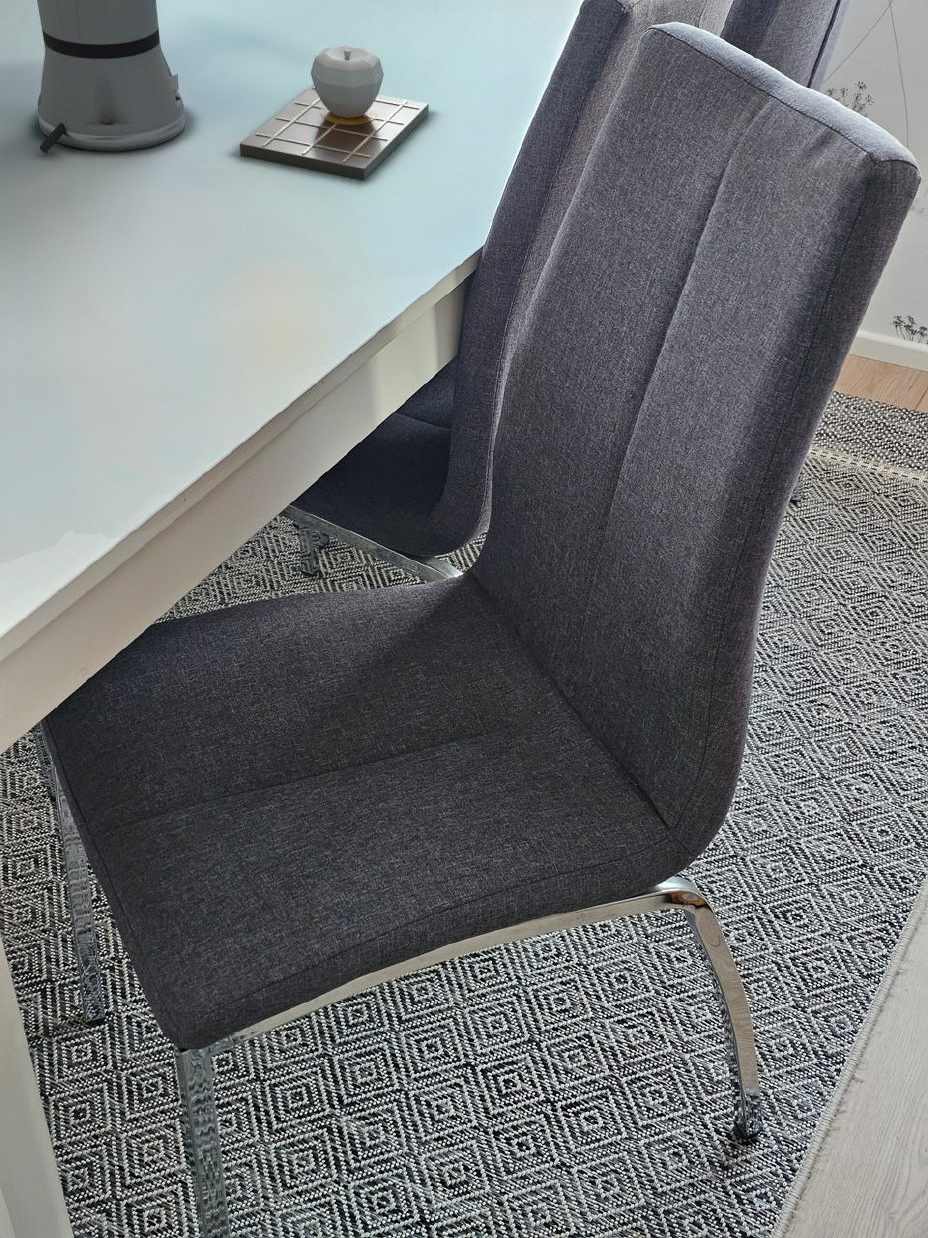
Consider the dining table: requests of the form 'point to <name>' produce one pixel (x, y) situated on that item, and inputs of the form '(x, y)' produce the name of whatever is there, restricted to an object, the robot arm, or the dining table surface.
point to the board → (334, 135)
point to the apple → (347, 80)
